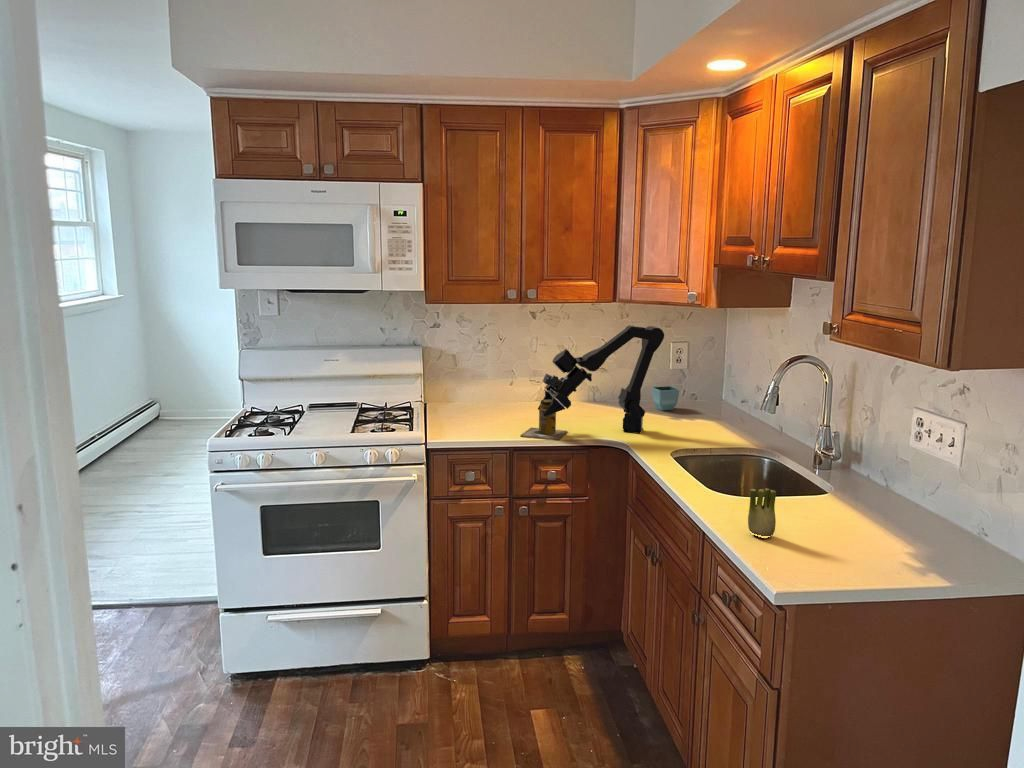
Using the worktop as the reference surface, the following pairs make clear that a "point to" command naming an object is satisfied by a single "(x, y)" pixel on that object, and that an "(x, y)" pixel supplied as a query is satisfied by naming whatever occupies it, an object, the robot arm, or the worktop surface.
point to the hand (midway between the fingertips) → (541, 412)
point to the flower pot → (665, 397)
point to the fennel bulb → (762, 512)
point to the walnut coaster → (550, 437)
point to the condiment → (546, 420)
